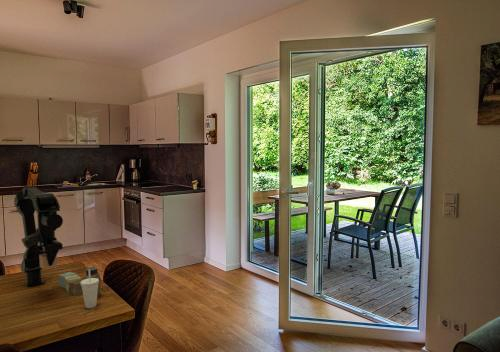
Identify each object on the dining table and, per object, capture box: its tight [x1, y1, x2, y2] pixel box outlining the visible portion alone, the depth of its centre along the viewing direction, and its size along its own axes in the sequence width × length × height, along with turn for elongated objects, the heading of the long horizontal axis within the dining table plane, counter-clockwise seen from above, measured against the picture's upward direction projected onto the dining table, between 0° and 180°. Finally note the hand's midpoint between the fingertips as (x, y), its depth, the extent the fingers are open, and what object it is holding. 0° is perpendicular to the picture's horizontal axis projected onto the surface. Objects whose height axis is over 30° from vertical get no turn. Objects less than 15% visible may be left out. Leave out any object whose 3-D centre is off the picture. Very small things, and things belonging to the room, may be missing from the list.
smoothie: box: [80, 270, 99, 309], centre depth 137 cm, size 6×6×14 cm
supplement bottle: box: [83, 266, 102, 298], centre depth 147 cm, size 6×6×11 cm
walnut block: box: [68, 277, 84, 297], centre depth 151 cm, size 5×5×5 cm
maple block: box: [64, 274, 81, 293], centre depth 155 cm, size 5×5×5 cm
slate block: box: [58, 271, 78, 289], centre depth 159 cm, size 5×5×5 cm
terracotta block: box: [39, 253, 58, 270], centre depth 147 cm, size 5×5×5 cm
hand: (48, 264), depth 147 cm, fingers closed on terracotta block, 5 cm apart
